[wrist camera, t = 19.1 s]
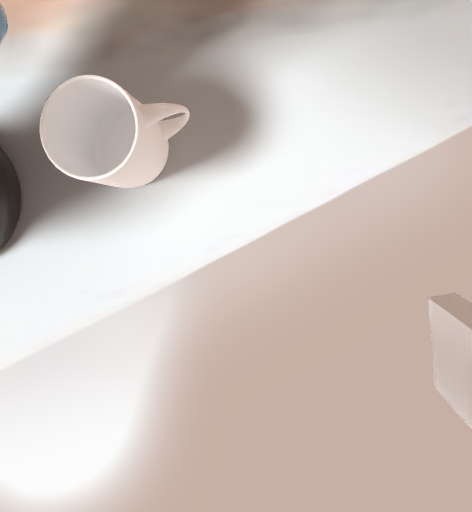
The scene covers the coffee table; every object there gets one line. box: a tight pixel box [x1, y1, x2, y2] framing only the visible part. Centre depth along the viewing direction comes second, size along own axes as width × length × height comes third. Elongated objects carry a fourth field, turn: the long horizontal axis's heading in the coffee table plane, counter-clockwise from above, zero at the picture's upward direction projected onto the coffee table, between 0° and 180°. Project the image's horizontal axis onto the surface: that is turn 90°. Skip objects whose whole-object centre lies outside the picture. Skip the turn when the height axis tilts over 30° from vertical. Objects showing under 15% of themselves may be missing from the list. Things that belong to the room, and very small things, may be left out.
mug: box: [39, 75, 190, 188], centre depth 42 cm, size 9×12×11 cm
